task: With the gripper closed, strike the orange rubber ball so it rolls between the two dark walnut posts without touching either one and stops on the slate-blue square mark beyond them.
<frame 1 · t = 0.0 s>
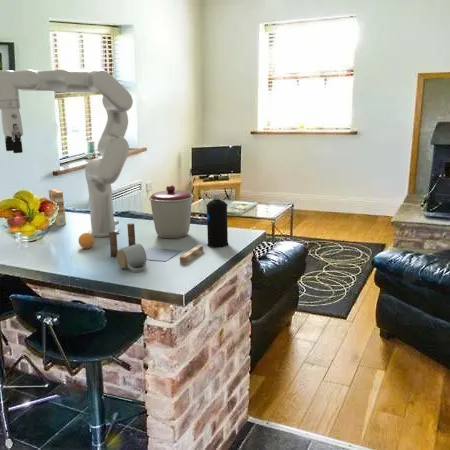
hand: (14, 151, 209), 37 cm above the countertop, tool pointing down, fingers open, 9 cm apart
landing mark: (157, 254, 205), on the countertop
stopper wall: (192, 257, 200), on the countertop
ceramic mug: (134, 268, 191), on the countertop
canister: (172, 236, 231), on the countertop
ball: (86, 240, 215), on the countertop
aerosol can: (217, 245, 216), on the countertop
candy box: (58, 224, 256), on the countertop
post 2: (132, 246, 216), on the countertop
post 1: (114, 256, 204), on the countertop
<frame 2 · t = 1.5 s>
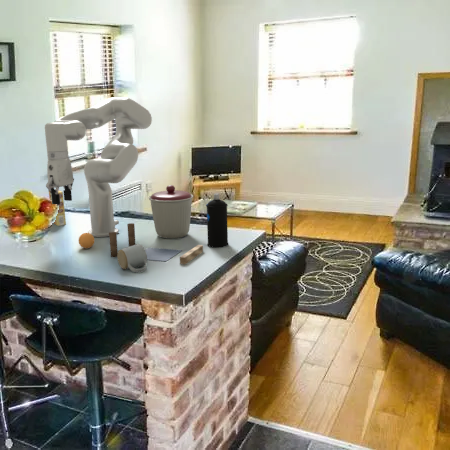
hand: (62, 201, 214), 18 cm above the countertop, tool pointing down, fingers open, 6 cm apart
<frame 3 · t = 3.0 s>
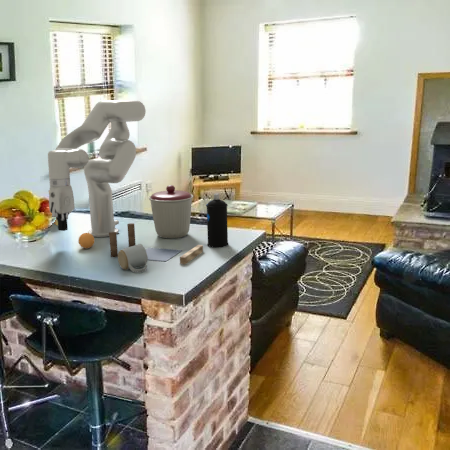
hand: (62, 230, 216), 7 cm above the countertop, tool pointing down, fingers closed
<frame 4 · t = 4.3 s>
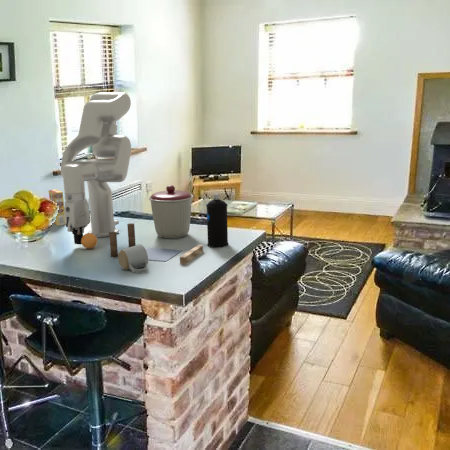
hand: (79, 243, 216), 2 cm above the countertop, tool pointing down, fingers closed
ball: (89, 240, 214), on the countertop
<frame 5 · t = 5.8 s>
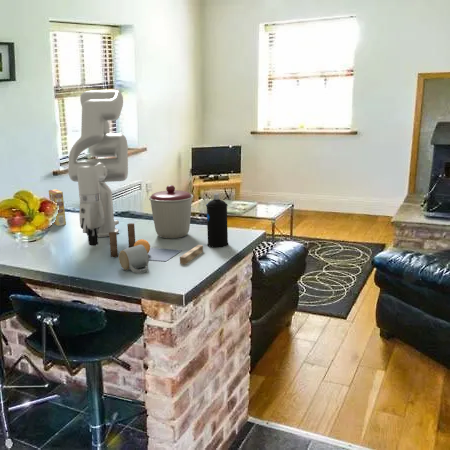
hand: (93, 244, 214), 2 cm above the countertop, tool pointing down, fingers closed
ball: (141, 247, 204), on the countertop
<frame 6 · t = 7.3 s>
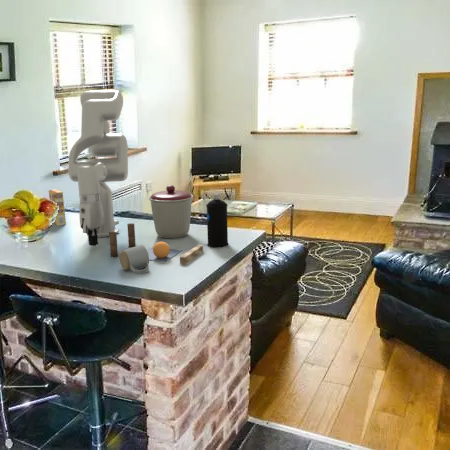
hand: (93, 244, 214), 2 cm above the countertop, tool pointing down, fingers closed
ball: (161, 249, 200), on the countertop
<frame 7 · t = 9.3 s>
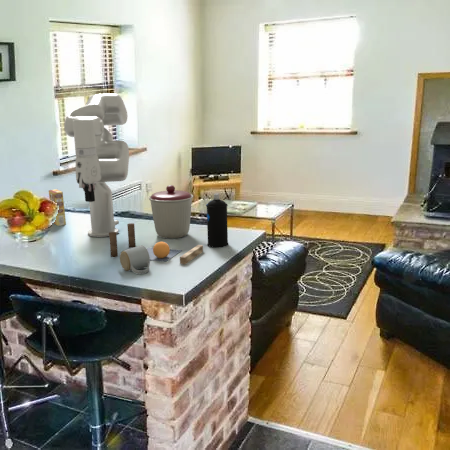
hand: (90, 201, 210), 19 cm above the countertop, tool pointing down, fingers closed
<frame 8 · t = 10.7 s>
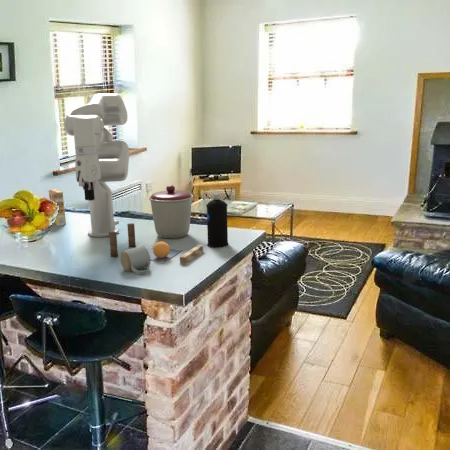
hand: (89, 199, 210), 19 cm above the countertop, tool pointing down, fingers closed
at the end: ball 5.0 cm from the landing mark (horizontally); ball never touched post 2; ball never touched post 1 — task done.
